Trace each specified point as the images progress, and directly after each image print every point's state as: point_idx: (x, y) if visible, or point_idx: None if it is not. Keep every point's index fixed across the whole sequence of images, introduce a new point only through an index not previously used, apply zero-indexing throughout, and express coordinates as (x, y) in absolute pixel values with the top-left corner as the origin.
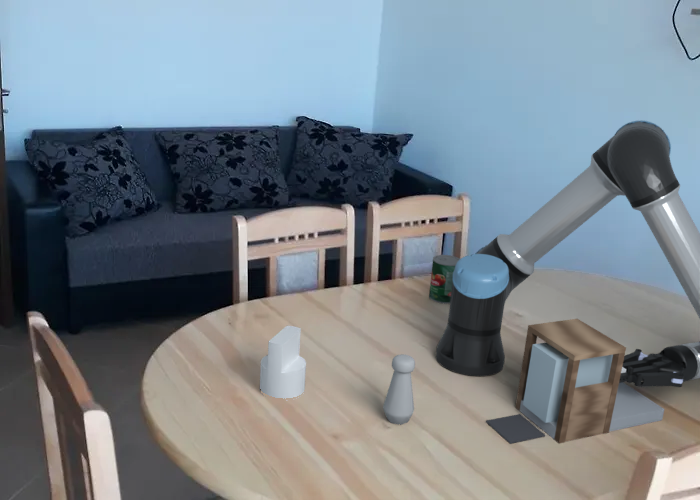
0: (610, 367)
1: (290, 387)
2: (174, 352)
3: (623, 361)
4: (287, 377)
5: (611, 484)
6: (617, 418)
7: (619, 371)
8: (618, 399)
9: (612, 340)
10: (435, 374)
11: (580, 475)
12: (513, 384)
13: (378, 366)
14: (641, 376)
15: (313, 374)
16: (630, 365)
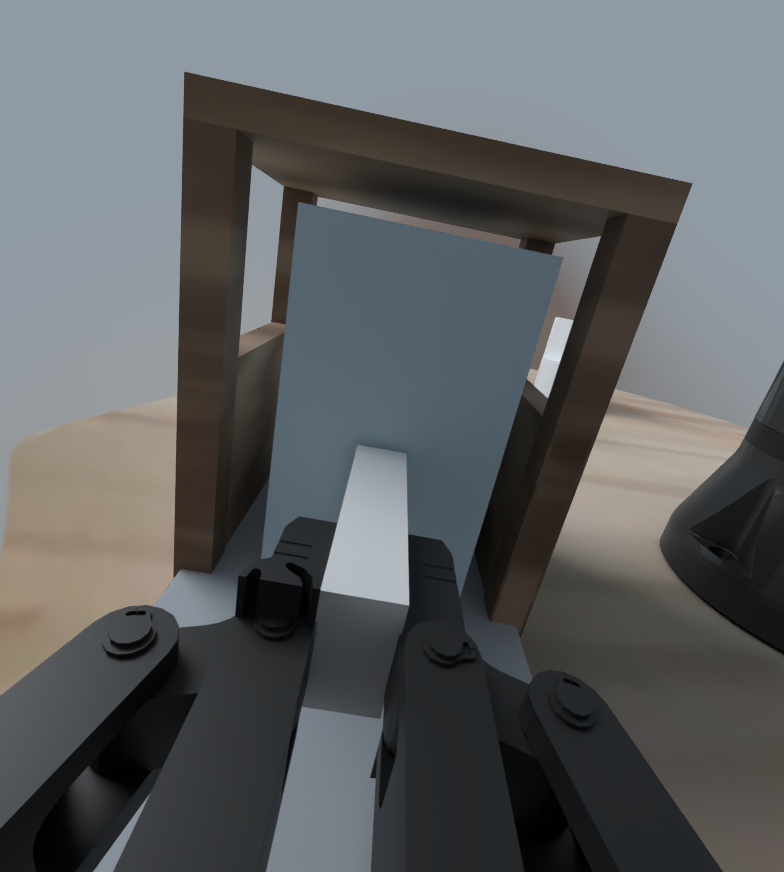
0: (287, 334)
1: (537, 378)
2: (641, 398)
3: (576, 818)
4: (541, 363)
5: (46, 448)
6: (157, 605)
7: (187, 270)
8: (289, 826)
9: (312, 104)
10: (649, 503)
11: (139, 440)
12: (626, 599)
13: (661, 467)
14: (93, 630)
15: (607, 423)
16: (401, 769)
